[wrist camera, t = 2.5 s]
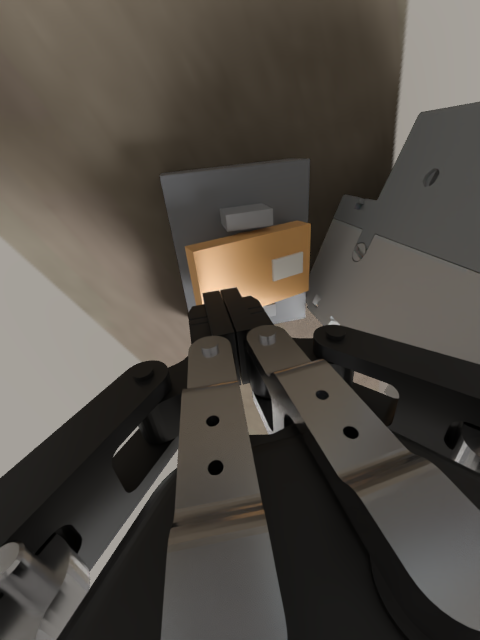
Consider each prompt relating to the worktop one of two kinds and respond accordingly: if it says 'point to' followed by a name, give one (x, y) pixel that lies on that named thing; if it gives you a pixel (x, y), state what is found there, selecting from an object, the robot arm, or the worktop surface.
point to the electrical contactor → (411, 245)
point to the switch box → (236, 211)
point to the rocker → (254, 263)
